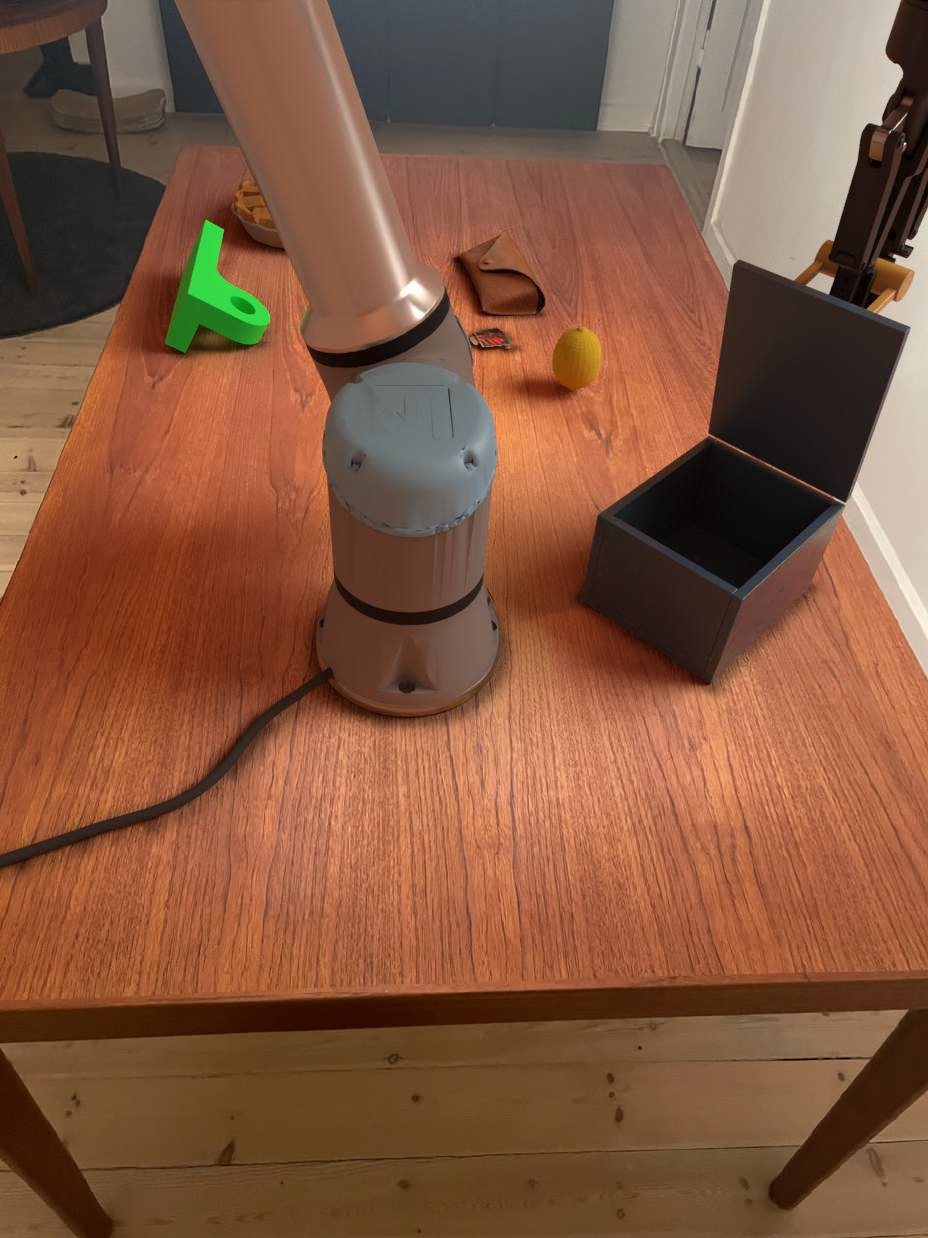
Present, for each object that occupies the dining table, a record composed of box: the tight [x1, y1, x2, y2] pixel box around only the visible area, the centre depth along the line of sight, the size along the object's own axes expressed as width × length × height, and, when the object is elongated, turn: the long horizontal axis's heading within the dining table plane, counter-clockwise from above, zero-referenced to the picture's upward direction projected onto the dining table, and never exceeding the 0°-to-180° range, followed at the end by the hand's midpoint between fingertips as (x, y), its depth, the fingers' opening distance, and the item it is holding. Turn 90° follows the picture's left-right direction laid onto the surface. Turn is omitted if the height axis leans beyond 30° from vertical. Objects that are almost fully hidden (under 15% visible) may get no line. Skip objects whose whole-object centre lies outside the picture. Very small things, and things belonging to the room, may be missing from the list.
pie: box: [230, 179, 285, 249], centre depth 132 cm, size 22×22×5 cm
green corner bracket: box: [164, 219, 271, 354], centre depth 113 cm, size 20×10×7 cm, turn 5°
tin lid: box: [707, 239, 916, 504], centre depth 74 cm, size 18×14×9 cm
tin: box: [580, 435, 846, 685], centre depth 79 cm, size 17×14×10 cm
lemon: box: [551, 325, 603, 392], centre depth 103 cm, size 6×6×8 cm
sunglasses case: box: [456, 229, 546, 317], centre depth 123 cm, size 18×7×7 cm, turn 13°
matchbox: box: [468, 327, 514, 350], centre depth 113 cm, size 5×5×1 cm
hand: (839, 337), depth 74 cm, fingers closed on tin lid, 2 cm apart
